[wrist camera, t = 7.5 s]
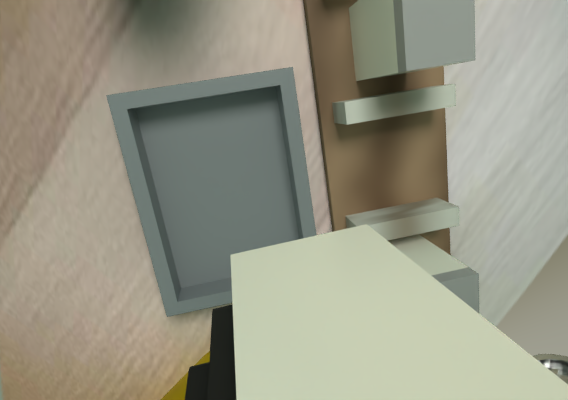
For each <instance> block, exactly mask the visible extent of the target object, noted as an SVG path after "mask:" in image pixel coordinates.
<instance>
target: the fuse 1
mask: <svg viewBox="0 0 568 400" xmlns="http://www.w3.org/2000/svg"><path fill="white" fill-rule="evenodd" d="M349 15H350V25H351V36H352V46H353V56H354V66H355V76H356V81H361V80H367V79H373V78H380V77H386V76H392V75H398V74H405V73H410V72H416V71H421V70H426V69H431V68H437V67H442V66H447V65H452V64H458V63H463V62H468V61H473V60H475V6H474V0H358V1H357V2H356V3H354V4H353V5H352V6H351V7H349Z"/></svg>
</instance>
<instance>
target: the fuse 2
mask: <svg viewBox="0 0 568 400" xmlns="http://www.w3.org/2000/svg"><path fill="white" fill-rule="evenodd" d="M387 241H388V242H390V243H391V244H392V245H393V246H395V247H396V248H397V249H399V250H400V251H401V252H402V253H404V254H405V255H406V256H407V257H409V258H410V259H411V260H412V261H414V262H415V263H416V264H417V265H419V266H420V267H421V268H422V269H424V270H425V271H426V272H427V273H429V274H430V275H431V276H432V277H434V278H435V279H436V280H437V281H439V282H440V283H441V284H442V285H444V286H445V287H446V288H447V289H449V290H450V291H451V292H452V293H454V294H455V295H456V296H457V297H459V298H460V299H461V300H462V301H464V302H465V303H466V304H468V305H469V306H470V307H471V308H473V309H474V310H475V311H476V312H478V313H479V274H478V273H477V272H475V271H474V270H472V269H471V268H469V267H468V266H466V265H465V264H463V263H461V262H460V261H458V260H457V259H455V258H454V257H452V256H451V255H449V254H448V253H446V252H445V251H443V250H442V249H440V248H439V247H437V246H436V245H434V244H433V243H431V242H430V241H428V240H427V239H425V238H424V237H422V236H421V235H419V234H416V235H411V236H406V237H402V238H397V239H392V240H387Z"/></svg>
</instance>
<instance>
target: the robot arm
mask: <svg viewBox="0 0 568 400" xmlns="http://www.w3.org/2000/svg"><path fill="white" fill-rule="evenodd" d="M533 357H534V358H535V359H537V360H538V361H539V362H540V363H542V364H543V365H544V366H545V367H547V368H548V369H549V370H550V371H552V372H553V373H554V374H555V375H557V376H558V377H559V378H560V379H562V380H563V381H564V382H565V383H567V384H568V357H567V356H561V355H555V354H538V355H535V356H533ZM185 400H237V399H236V375H235V352H234V328H233V305H229V306H225V307H220V308H216V309H213V311H212V328H211V345H210V362H207V363H203V364H199V365H195V366H192V367H190V368H189V372H188V378H187V385H186V393H185Z"/></svg>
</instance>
